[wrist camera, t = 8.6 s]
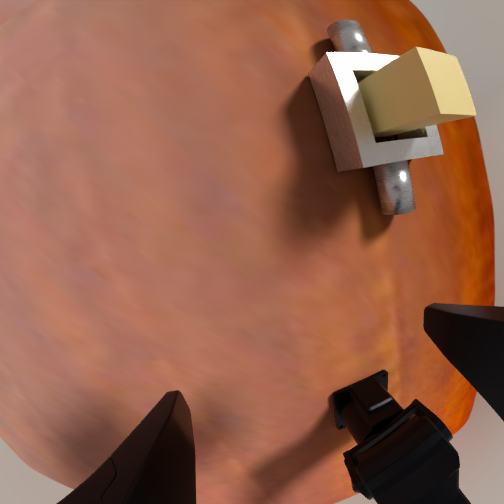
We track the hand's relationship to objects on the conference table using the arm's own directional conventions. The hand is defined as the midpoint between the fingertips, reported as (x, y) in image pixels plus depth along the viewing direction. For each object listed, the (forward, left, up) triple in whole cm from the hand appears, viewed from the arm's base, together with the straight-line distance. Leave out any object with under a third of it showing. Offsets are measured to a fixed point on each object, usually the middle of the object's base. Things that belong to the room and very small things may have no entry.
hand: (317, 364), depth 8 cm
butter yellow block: (+10, -12, -13) cm, 20 cm away
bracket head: (+10, -12, -13) cm, 20 cm away
